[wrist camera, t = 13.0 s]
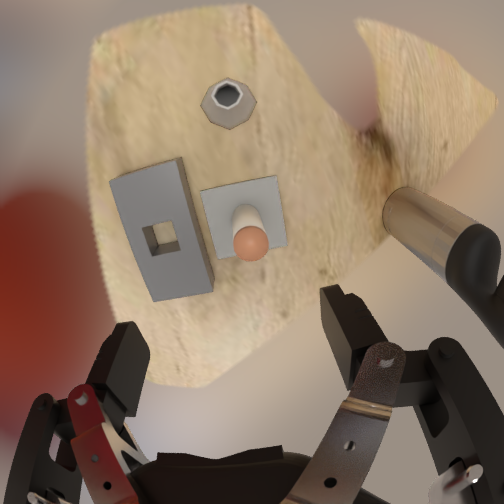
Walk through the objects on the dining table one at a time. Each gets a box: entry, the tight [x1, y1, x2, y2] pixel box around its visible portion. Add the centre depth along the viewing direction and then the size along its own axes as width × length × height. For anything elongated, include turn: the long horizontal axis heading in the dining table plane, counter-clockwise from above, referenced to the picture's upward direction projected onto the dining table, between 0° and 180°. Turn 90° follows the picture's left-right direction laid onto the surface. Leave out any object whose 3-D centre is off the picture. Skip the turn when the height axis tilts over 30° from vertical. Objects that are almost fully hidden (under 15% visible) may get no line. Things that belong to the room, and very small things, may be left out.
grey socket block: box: [109, 157, 214, 302], centre depth 39 cm, size 10×20×4 cm, turn 11°
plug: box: [232, 204, 269, 261], centre depth 35 cm, size 4×4×10 cm
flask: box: [200, 78, 257, 130], centre depth 29 cm, size 7×7×10 cm
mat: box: [200, 175, 288, 259], centre depth 40 cm, size 11×11×1 cm
